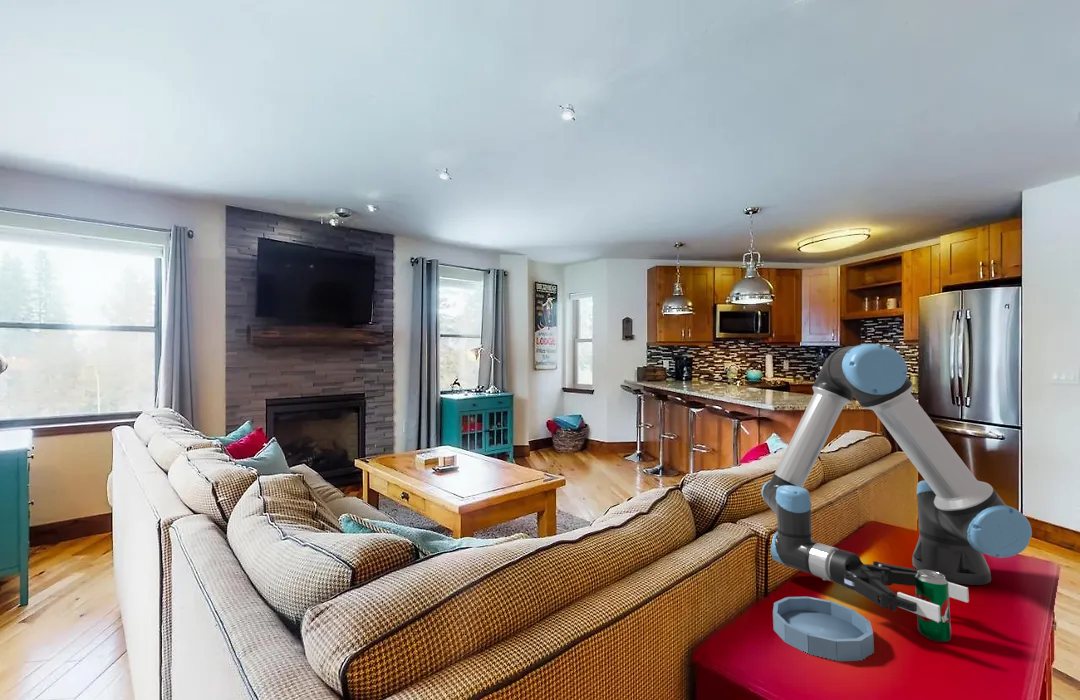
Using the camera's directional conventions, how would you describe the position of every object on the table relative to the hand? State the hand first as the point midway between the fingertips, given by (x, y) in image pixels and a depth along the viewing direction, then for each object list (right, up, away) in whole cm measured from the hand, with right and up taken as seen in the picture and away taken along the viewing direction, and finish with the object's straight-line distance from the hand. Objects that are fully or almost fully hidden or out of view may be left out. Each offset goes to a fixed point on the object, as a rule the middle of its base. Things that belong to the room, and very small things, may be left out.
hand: (954, 604), depth 90 cm
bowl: (-23, -8, +4) cm, 25 cm away
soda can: (-2, -8, +3) cm, 8 cm away
